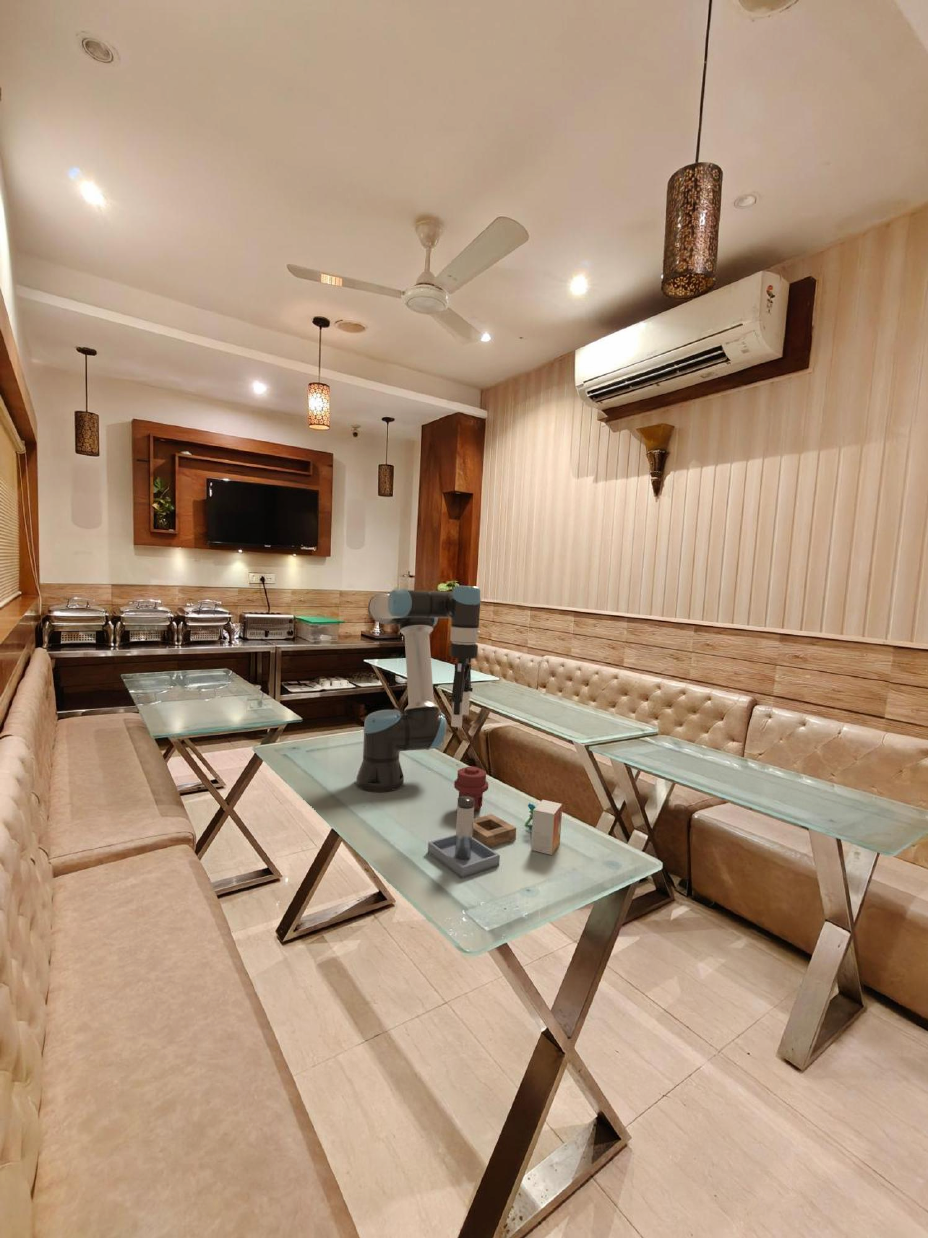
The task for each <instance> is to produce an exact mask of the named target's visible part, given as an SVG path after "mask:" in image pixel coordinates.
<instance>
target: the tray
mask: <svg viewBox="0 0 928 1238" xmlns="http://www.w3.org/2000/svg"><path fill="white" fill-rule="evenodd" d="M455 843H456V833H455V834H452V835H448V836H445V837H441V838H437V839H435V840H432V841H428V843H427V844H428V845H427V853H428V854H430V856H432V857H433V858H435V859H436V860H437V861H438V862H440V863H441V864H443V865H444V866H445V867H447V869H449V870H450V871H452V872H453V873H454V874H456V875H457V876H458V877H459V878H461V879H464V878H467V877H470V876H473V875H475V874H479V873H481V872H484V871H487V870H490V869H493V868H496V867H498V866H500V861H501V860H500V859H501V857H500V854H499V853H498V852H496V851H495V850H493V849H491V847H490V848H488V847H487V846H485V845H484V844H482V843H481V842H479V841H478V840H476V839H474V838H473V837H472V856H471V858H470V859H469V860H459V859H457V858H456V857H455Z"/></svg>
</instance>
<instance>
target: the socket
mask: <svg viewBox="0 0 928 1238" xmlns="http://www.w3.org/2000/svg"><path fill="white" fill-rule="evenodd" d="M473 838H474V839H476V840H478V841H479V842H481V843H482V844H484V845H485V846H487V847H488V848H490V849H491V848H492V847H496V846H499V845H501V844H504V843H508V842H511V841H514V840H516V839H517V827H516V826H514V825H512V824H511V823H509V822H507V821H505V820H504V819H501V818H499V817H498V816H496V815H494V814H492V813H490V814H487V815H483V816H479V817H476V818H473Z"/></svg>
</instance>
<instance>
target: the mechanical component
mask: <svg viewBox="0 0 928 1238" xmlns="http://www.w3.org/2000/svg"><path fill="white" fill-rule="evenodd" d="M453 783H454V784H453V786H454V787H453V788H454V789H455V790H456V791H458V798H459V797H461V796H469V797H472V798H474V812H475V811H478V810H481V808H482V807H483V796H484V793H485V792H487V791H488V790H489V782H488V781H487V772H486V770H484V769H482V768H478V767H477V766H466V767H462V768H459V769H458V770H457V777H456V778H455V780H454V782H453Z"/></svg>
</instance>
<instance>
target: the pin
mask: <svg viewBox="0 0 928 1238" xmlns="http://www.w3.org/2000/svg"><path fill="white" fill-rule="evenodd" d="M456 806H457V807H456V822H455V823H456V825H455V827H456V829H455V834H456V843H455V857H456V858H457V859H459V860H469V859H470V858H471V856H472V837H473V819H475V818H474V815H475V814H474V813H475V811H474V798H472V797H469V796H461V797H459V796H458V797H457V805H456Z"/></svg>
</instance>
